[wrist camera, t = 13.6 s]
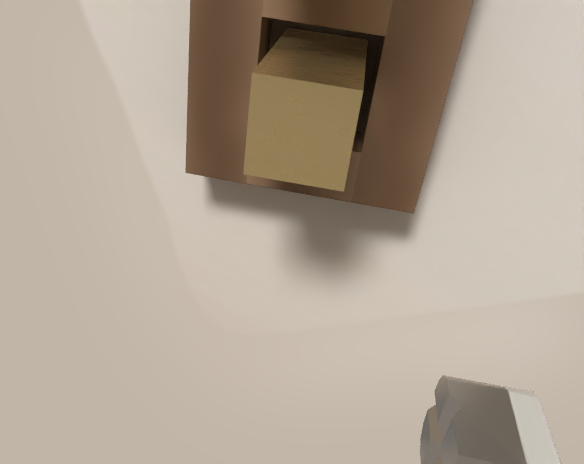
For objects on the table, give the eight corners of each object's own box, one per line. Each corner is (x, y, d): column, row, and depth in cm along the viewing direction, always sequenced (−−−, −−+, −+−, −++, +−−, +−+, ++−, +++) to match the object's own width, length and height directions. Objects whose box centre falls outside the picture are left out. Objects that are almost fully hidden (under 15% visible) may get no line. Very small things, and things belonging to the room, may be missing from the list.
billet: (367, 40, 27) (363, 90, 19) (353, 117, 29) (343, 191, 21) (287, 27, 27) (252, 72, 19) (279, 105, 29) (243, 174, 21)
